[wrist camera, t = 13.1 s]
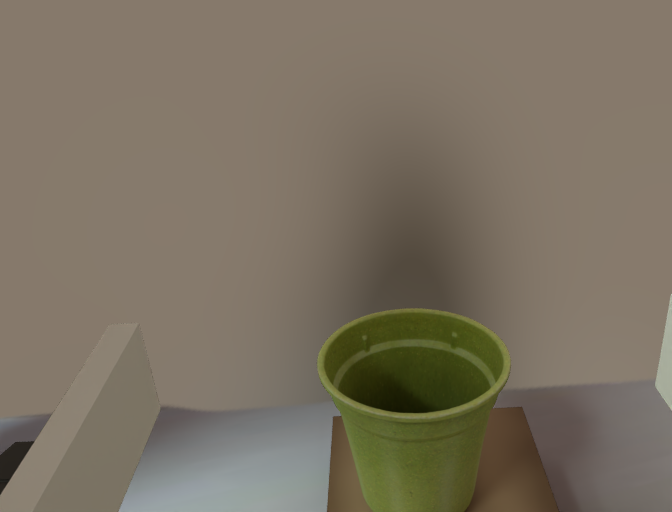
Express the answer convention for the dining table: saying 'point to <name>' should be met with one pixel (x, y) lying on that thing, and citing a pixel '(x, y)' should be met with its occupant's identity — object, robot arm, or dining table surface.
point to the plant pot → (415, 404)
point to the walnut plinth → (492, 478)
